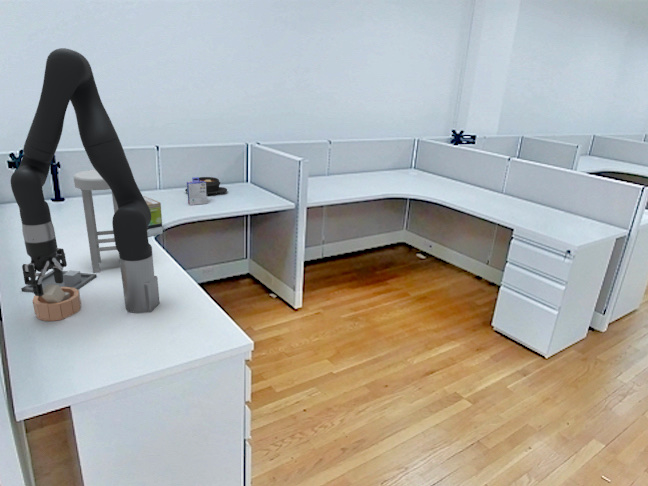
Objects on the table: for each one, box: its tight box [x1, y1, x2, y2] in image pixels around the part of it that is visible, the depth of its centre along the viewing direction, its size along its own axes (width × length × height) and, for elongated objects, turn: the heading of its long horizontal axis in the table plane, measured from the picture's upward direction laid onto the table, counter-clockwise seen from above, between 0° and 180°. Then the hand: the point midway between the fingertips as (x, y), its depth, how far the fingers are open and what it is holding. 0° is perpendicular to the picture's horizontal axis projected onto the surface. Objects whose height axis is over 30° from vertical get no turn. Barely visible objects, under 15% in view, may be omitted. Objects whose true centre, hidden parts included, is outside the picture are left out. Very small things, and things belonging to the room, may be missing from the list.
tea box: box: [142, 195, 163, 238], centre depth 202 cm, size 15×10×15 cm
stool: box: [73, 169, 118, 274], centre depth 162 cm, size 16×16×35 cm
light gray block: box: [63, 270, 82, 288], centre depth 150 cm, size 4×4×4 cm
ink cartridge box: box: [186, 177, 208, 206], centre depth 249 cm, size 10×6×14 cm, turn 118°
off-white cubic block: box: [42, 285, 65, 303], centre depth 131 cm, size 4×4×4 cm
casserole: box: [184, 176, 228, 196], centre depth 273 cm, size 25×19×8 cm
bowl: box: [32, 287, 82, 322], centre depth 135 cm, size 12×12×5 cm
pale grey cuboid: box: [61, 292, 71, 302], centre depth 135 cm, size 4×4×4 cm
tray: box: [20, 269, 98, 294], centre depth 152 cm, size 16×15×1 cm
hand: (49, 288), depth 132 cm, fingers open, 8 cm apart
